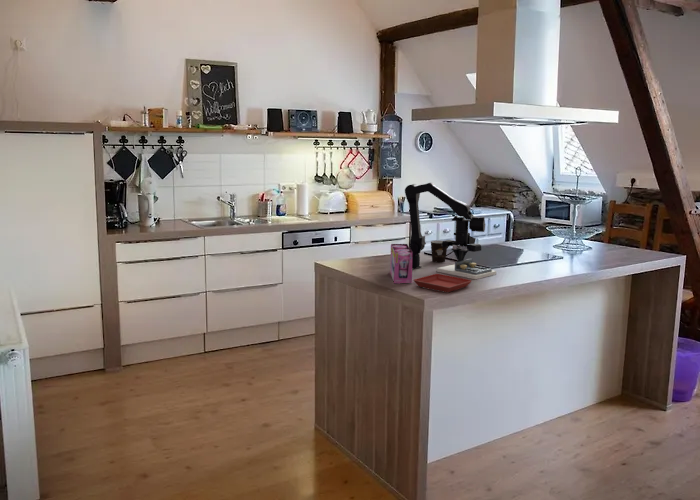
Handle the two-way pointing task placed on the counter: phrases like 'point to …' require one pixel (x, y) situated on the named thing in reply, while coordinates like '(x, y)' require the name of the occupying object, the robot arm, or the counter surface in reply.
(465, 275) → the board
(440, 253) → the coffee mug
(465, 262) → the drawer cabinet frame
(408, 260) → the gum box
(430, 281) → the plant saucer
